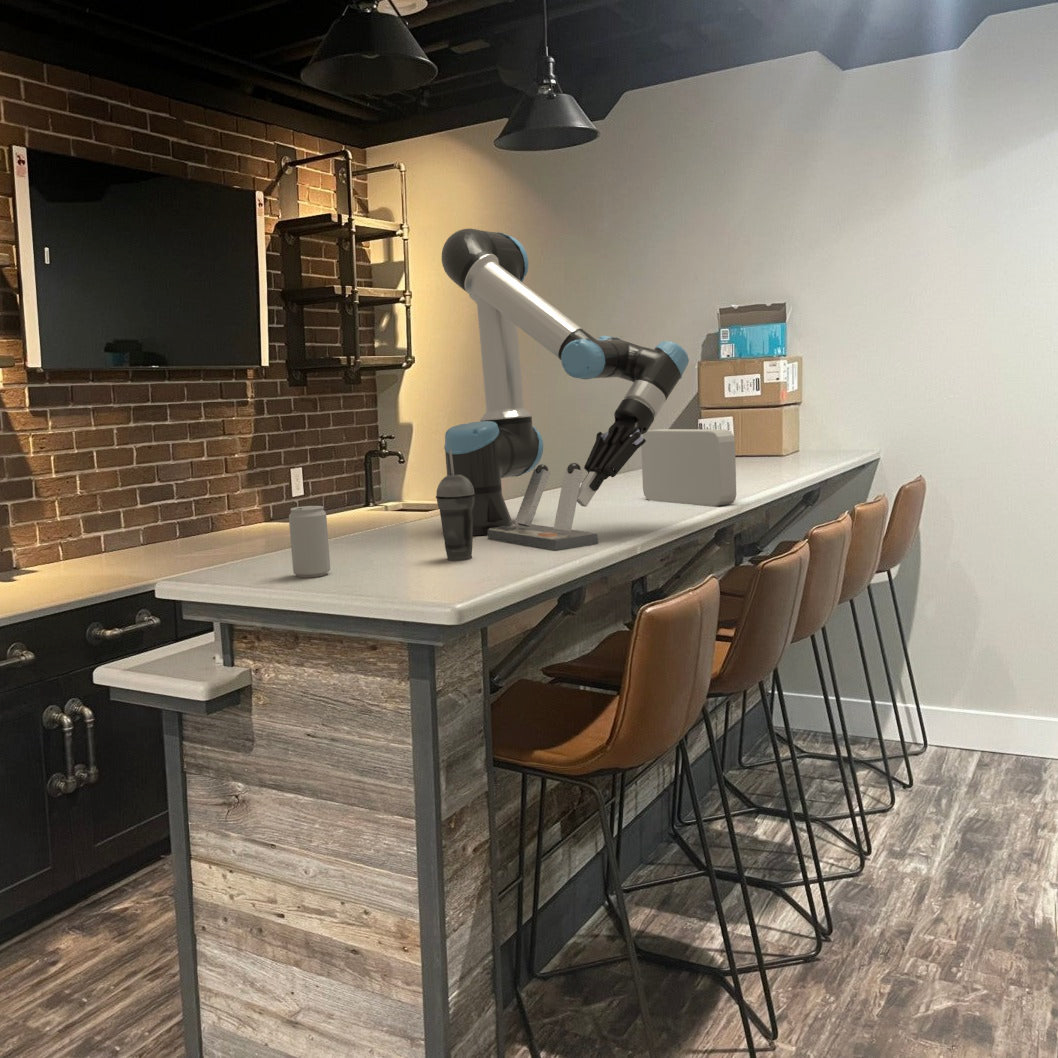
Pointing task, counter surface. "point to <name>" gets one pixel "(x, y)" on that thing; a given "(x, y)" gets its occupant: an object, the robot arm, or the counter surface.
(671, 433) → the gray rounded block
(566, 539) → the switch base
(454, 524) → the beverage cup
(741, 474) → the counter surface
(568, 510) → the outer lever
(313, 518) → the beverage can
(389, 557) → the counter surface
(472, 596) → the counter surface
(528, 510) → the inner lever
